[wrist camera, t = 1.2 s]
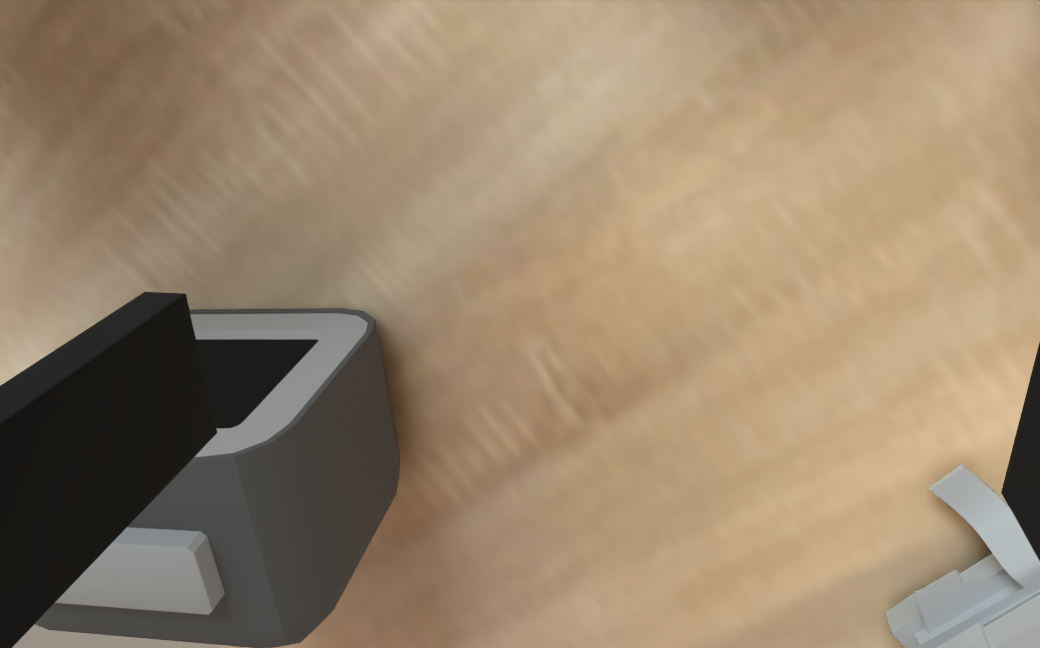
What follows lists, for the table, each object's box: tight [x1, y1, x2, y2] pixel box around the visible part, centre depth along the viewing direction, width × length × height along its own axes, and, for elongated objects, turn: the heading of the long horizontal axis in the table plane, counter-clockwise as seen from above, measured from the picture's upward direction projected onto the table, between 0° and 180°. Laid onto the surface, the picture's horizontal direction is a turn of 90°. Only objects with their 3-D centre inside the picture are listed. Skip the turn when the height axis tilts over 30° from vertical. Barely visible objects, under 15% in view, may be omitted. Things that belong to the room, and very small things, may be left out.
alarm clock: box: [35, 309, 400, 648], centre depth 40 cm, size 16×11×16 cm
